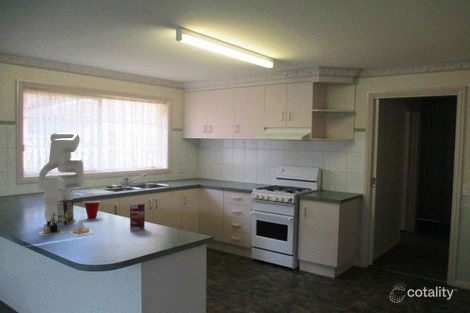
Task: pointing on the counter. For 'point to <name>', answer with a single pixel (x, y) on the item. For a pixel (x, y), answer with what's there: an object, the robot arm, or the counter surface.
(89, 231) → the hub
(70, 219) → the coffee box
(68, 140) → the robot arm
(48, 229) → the collar
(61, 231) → the rod stand
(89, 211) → the plastic cup
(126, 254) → the counter surface
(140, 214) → the supplement box
